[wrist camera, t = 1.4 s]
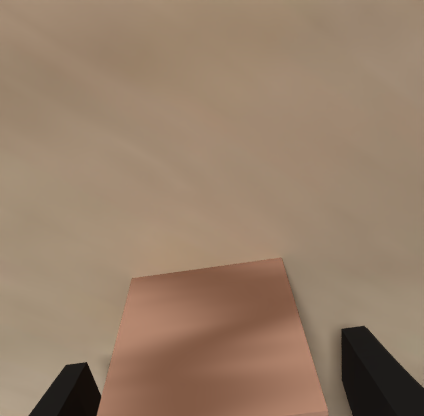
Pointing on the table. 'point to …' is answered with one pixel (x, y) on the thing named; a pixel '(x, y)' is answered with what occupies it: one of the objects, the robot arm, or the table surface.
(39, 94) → the table surface
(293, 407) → the terracotta cube
